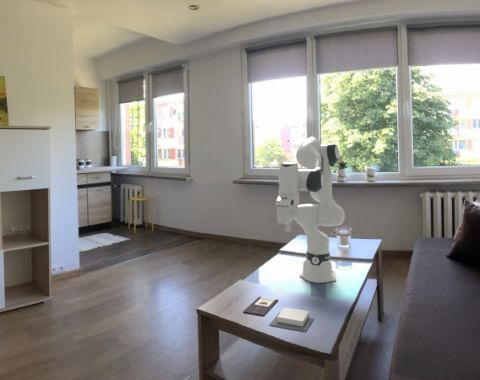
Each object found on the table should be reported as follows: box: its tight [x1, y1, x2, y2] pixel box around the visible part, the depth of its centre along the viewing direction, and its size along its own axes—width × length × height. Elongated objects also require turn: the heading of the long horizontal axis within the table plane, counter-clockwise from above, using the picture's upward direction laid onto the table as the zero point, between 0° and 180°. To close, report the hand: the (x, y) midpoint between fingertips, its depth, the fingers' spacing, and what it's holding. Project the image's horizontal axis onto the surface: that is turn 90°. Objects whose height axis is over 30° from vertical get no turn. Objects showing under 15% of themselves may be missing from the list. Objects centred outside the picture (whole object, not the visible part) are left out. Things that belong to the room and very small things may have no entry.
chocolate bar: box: [242, 296, 279, 317], centre depth 162 cm, size 9×1×18 cm
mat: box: [269, 312, 314, 333], centre depth 146 cm, size 12×14×1 cm
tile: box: [276, 307, 310, 326], centre depth 148 cm, size 2×10×10 cm
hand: (288, 231), depth 166 cm, fingers closed
